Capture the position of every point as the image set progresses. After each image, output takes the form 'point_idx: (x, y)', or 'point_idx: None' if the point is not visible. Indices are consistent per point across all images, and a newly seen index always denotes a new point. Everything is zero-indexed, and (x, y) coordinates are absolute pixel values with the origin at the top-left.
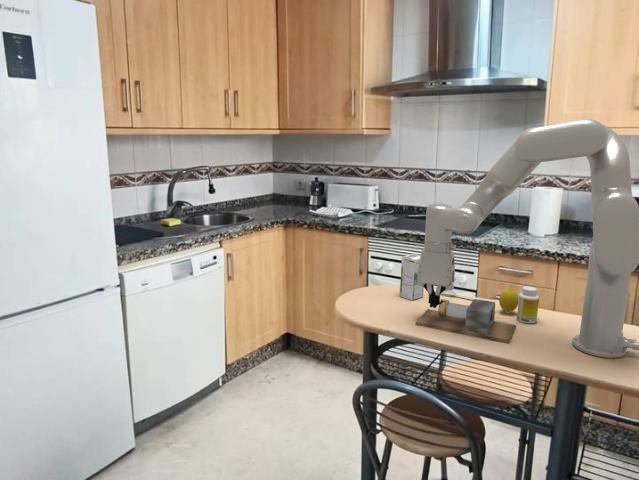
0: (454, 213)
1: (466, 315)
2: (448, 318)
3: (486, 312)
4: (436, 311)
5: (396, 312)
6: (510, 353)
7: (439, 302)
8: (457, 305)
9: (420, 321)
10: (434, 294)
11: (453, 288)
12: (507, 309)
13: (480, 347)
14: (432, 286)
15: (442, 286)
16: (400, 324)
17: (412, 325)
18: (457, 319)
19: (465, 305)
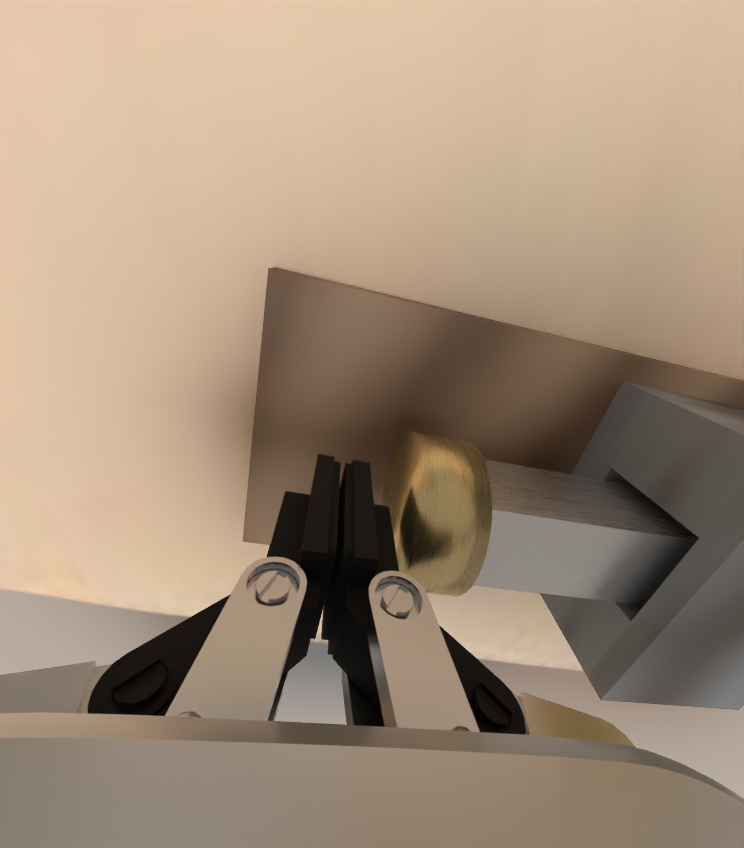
0: None
1: (572, 648)
2: (445, 434)
3: (726, 707)
4: (352, 312)
5: (35, 358)
6: None
7: (387, 517)
8: (552, 557)
9: (269, 530)
10: (328, 615)
11: (628, 742)
12: None
13: (550, 639)
14: (266, 670)
15: (454, 723)
16: (164, 542)
17: (233, 535)
18: (506, 433)
19: (628, 539)
